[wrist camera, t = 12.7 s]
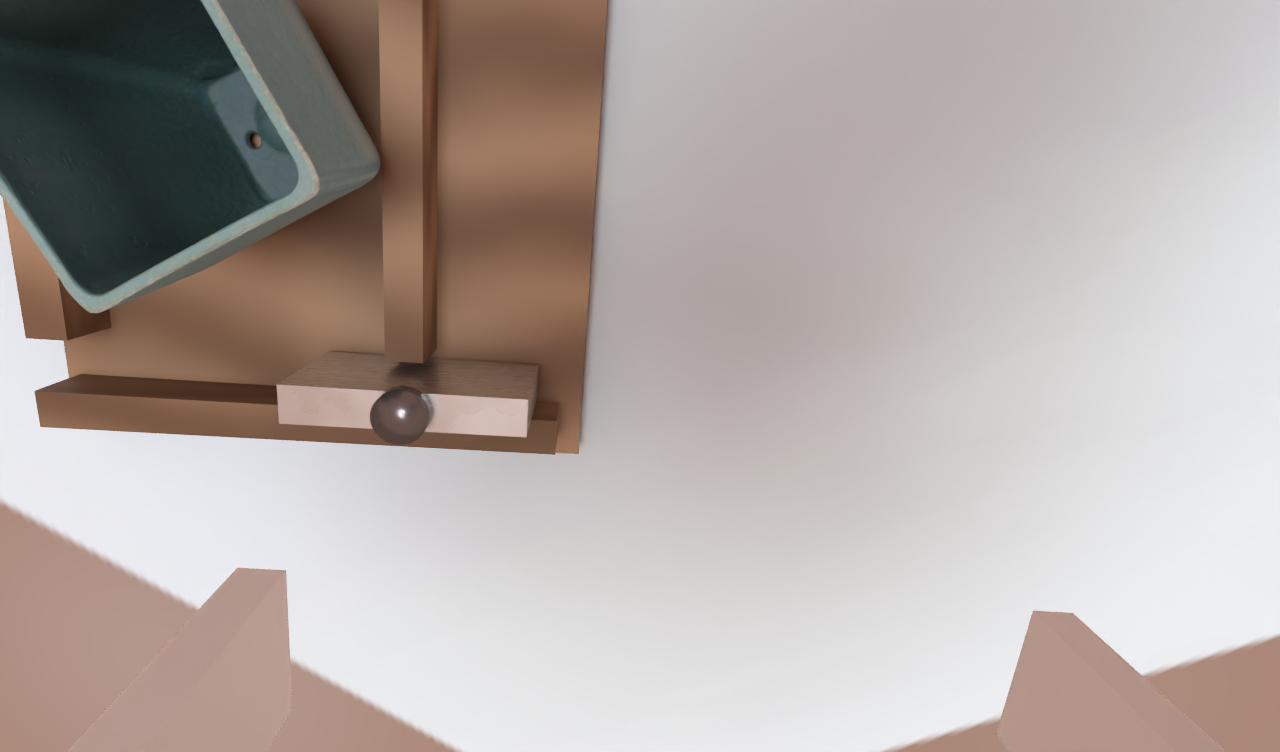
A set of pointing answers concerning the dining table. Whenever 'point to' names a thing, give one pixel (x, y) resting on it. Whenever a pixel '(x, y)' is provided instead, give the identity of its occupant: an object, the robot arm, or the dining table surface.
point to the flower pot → (166, 135)
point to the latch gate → (410, 396)
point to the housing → (379, 240)
